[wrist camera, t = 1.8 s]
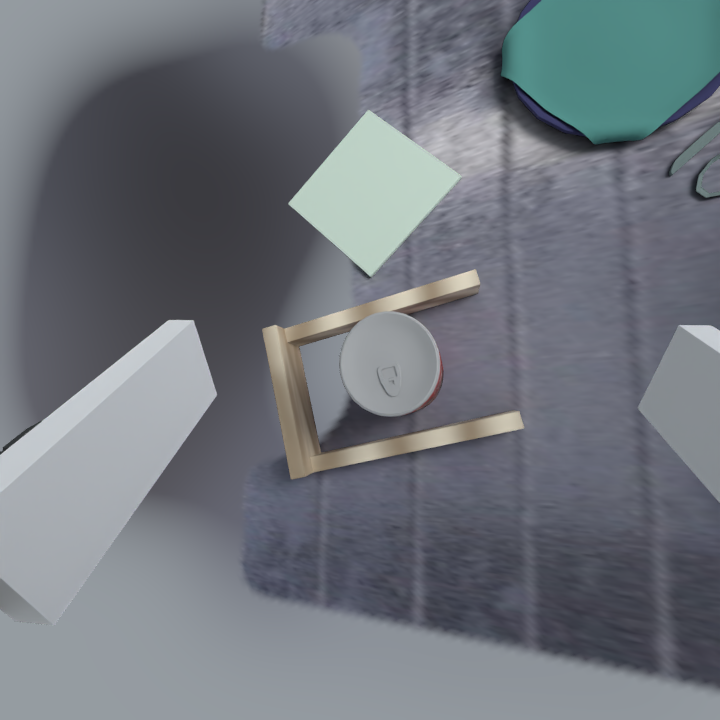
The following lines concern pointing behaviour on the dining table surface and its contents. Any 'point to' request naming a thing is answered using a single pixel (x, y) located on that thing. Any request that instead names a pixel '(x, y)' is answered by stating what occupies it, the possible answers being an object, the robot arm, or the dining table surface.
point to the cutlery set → (616, 66)
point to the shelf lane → (296, 398)
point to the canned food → (391, 364)
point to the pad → (373, 192)
